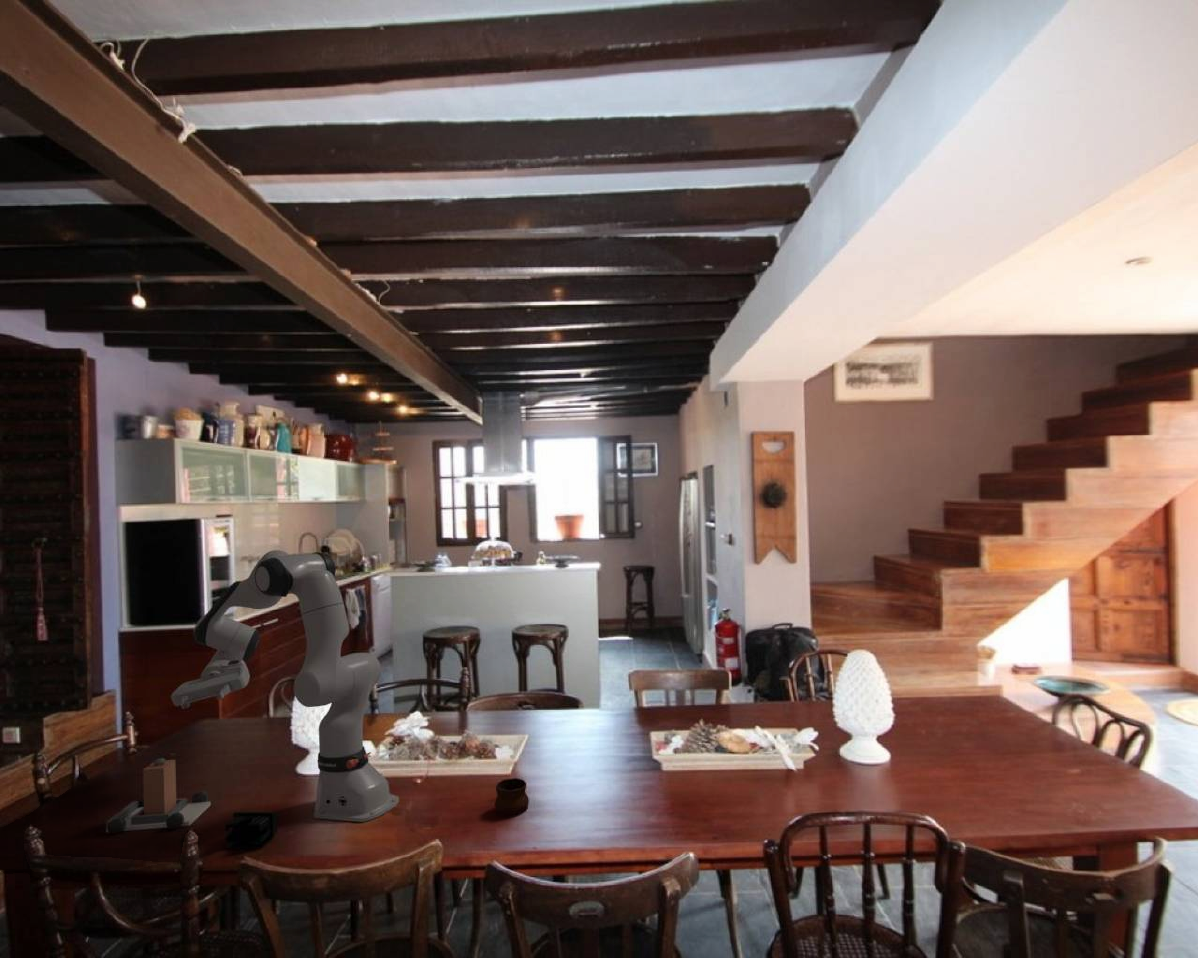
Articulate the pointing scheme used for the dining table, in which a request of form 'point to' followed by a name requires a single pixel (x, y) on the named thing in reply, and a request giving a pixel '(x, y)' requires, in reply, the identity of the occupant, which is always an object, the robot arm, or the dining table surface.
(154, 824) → the chassis
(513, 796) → the ceramic pot
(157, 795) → the tall wooden block
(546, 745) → the dining table surface
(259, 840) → the end cap
